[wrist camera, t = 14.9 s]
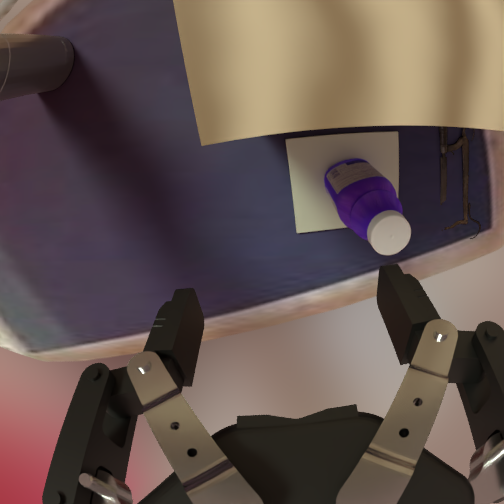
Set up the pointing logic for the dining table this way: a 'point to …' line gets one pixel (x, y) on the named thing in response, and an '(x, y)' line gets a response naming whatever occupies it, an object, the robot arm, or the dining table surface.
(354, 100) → the wooden slatted crate
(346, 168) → the bottle
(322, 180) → the mat
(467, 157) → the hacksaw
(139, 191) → the dining table surface
